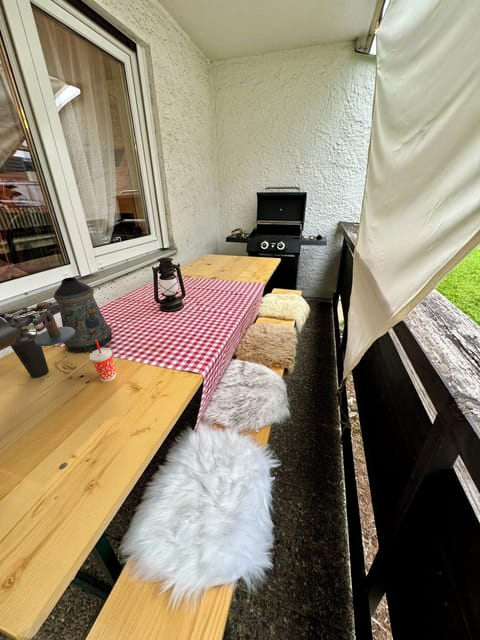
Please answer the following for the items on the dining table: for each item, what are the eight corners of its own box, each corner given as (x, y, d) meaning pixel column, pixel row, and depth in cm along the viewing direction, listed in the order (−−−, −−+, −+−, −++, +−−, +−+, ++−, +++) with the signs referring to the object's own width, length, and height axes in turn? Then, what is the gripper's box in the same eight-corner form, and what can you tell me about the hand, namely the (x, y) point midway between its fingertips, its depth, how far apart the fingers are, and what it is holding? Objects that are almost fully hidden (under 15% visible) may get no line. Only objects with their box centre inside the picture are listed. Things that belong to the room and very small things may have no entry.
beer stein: (89, 357, 91) (66, 291, 79) (49, 348, 97) (22, 284, 85) (122, 334, 105) (106, 274, 93) (85, 327, 111) (66, 270, 99)
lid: (26, 342, 66) (10, 308, 61) (58, 326, 73) (46, 295, 69) (52, 348, 63) (37, 313, 59) (82, 331, 71) (71, 298, 66)
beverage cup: (97, 374, 83) (84, 337, 76) (118, 368, 85) (107, 332, 79) (97, 386, 78) (83, 347, 71) (119, 380, 80) (107, 342, 74)
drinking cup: (58, 370, 85) (35, 316, 76) (32, 384, 79) (4, 327, 70) (46, 363, 88) (22, 310, 79) (21, 375, 83) (-8, 321, 73)
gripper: (-7, 329, 49) (71, 295, 64) (-53, 319, 53) (31, 289, 68) (10, 361, 53) (80, 322, 67) (-34, 349, 57) (42, 315, 71)
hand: (55, 306), depth 67 cm, fingers closed on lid, 2 cm apart
